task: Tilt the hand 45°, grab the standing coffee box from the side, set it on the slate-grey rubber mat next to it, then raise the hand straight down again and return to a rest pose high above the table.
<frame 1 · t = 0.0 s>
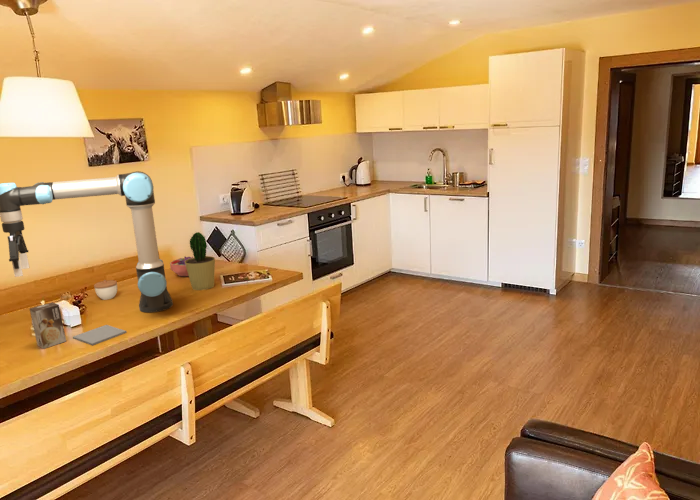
hand: (22, 272, 225), 28 cm above the table, tool pointing down, fingers open, 13 cm apart
potted cactus: (203, 287, 289), on the table
lidded jar: (107, 298, 279), on the table
cell model: (187, 275, 313), on the table
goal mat: (99, 335, 228), on the table
coffee box: (51, 344, 222), on the table
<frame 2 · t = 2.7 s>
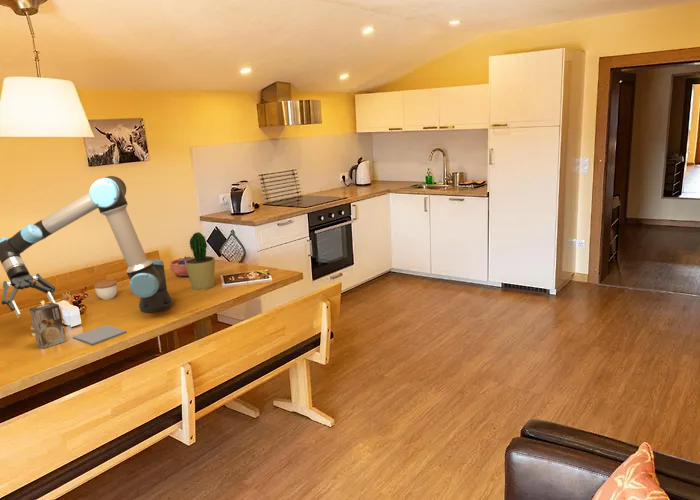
hand: (37, 310, 222), 13 cm above the table, tool tilted 45°, fingers open, 13 cm apart
nothing on the table moved.
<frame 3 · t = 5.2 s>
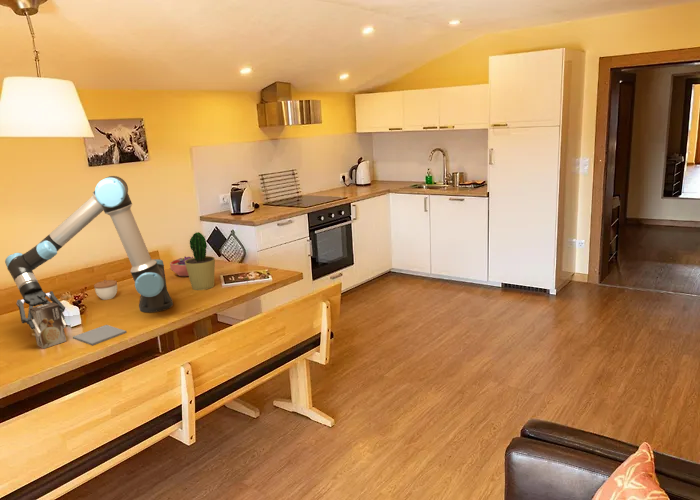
hand: (52, 330, 218), 6 cm above the table, tool tilted 45°, fingers closed on coffee box, 9 cm apart
coffee box: (51, 344, 222), on the table, touching gripper
everything else where it was.
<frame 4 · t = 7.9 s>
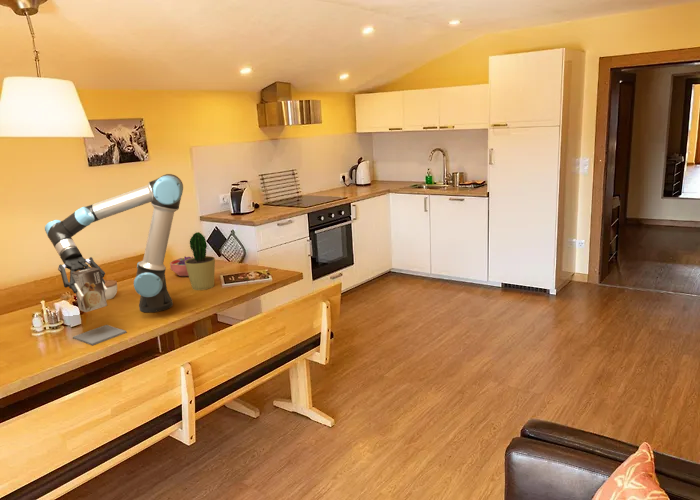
hand: (94, 294, 221), 19 cm above the table, tool tilted 45°, fingers closed on coffee box, 9 cm apart
coffee box: (93, 308, 224), point 12 cm above the table, touching gripper
everything else where it was.
when the fingers open (9 cm above the table, at t = 10.8 s): coffee box drops 1 cm, resting on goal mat.
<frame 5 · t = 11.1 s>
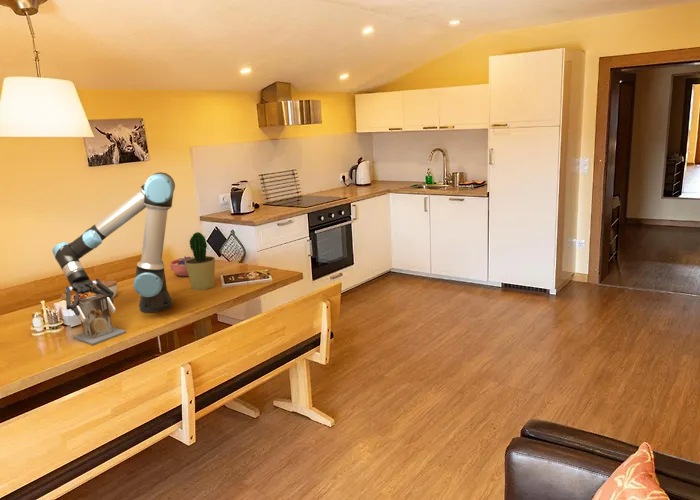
hand: (99, 315, 224), 9 cm above the table, tool tilted 45°, fingers open, 12 cm apart
coffee box: (99, 334, 227), point 1 cm above the table, touching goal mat
everything else where it was.
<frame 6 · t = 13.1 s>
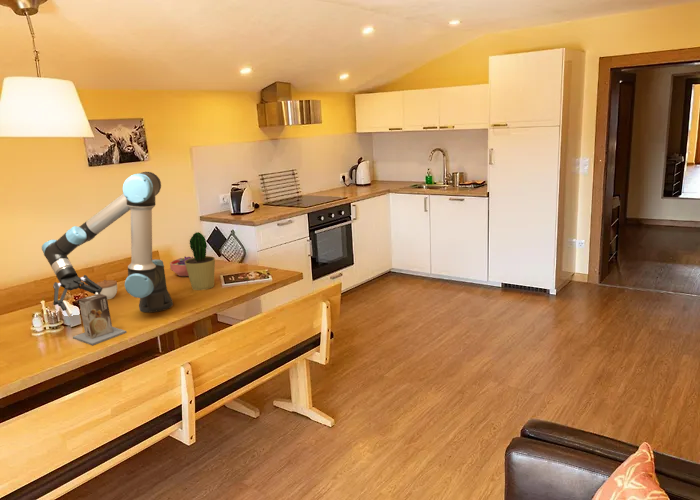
hand: (86, 310, 230), 10 cm above the table, tool tilted 45°, fingers open, 13 cm apart
nothing on the table moved.
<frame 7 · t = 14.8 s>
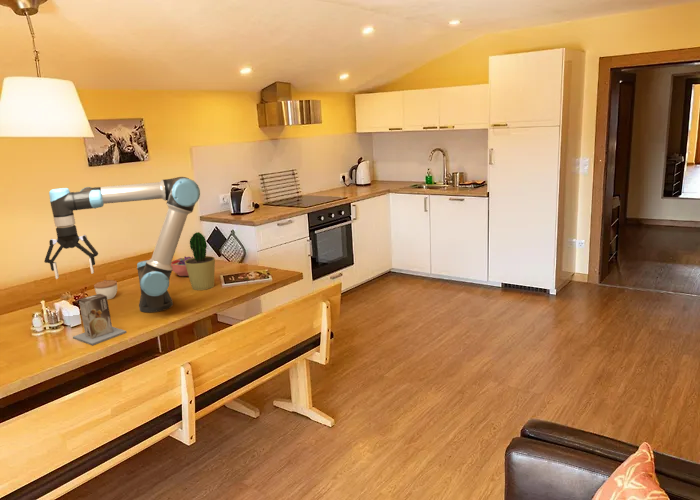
hand: (75, 275, 230), 24 cm above the table, tool pointing down, fingers open, 13 cm apart
nothing on the table moved.
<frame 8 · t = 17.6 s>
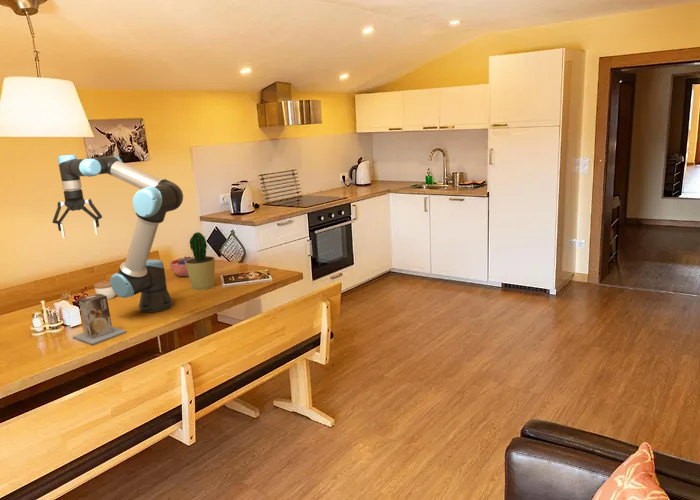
hand: (80, 236, 249), 37 cm above the table, tool pointing down, fingers open, 13 cm apart
nothing on the table moved.
at the end: coffee box inside the target area on the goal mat (0.2 cm from its centre), point 0.6 cm above the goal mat's base; coffee box tilted 0°; the gripper is holding nothing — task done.
